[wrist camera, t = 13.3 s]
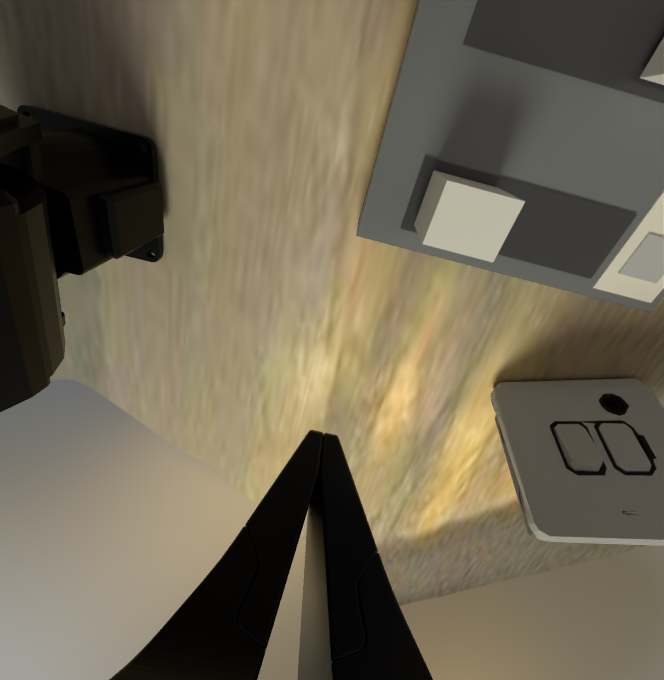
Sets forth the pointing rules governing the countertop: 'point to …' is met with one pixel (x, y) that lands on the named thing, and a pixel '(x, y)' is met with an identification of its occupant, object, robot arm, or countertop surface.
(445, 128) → the switch housing
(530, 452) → the electrical switch
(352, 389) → the countertop surface
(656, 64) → the switch tab
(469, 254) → the switch tab
